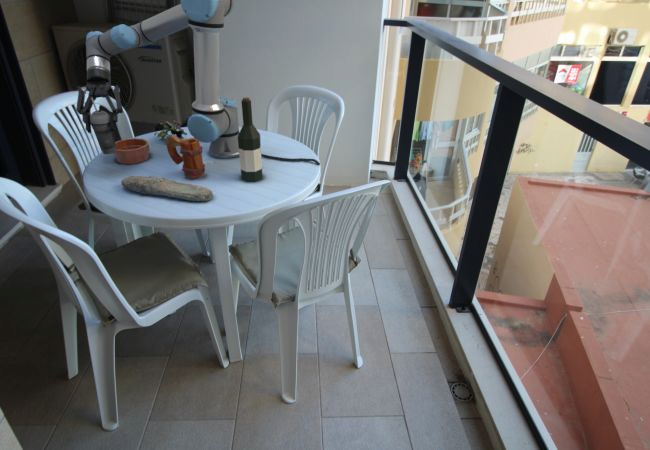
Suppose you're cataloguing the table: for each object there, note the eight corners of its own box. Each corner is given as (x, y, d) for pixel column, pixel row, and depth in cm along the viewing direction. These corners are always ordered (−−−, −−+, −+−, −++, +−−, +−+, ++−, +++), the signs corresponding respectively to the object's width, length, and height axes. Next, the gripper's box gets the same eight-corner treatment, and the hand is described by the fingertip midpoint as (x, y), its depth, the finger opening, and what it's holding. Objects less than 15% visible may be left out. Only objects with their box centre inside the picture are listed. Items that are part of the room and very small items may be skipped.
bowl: (158, 157, 165) (155, 143, 162) (126, 167, 155) (122, 153, 152) (139, 149, 172) (136, 136, 169) (108, 158, 162) (104, 144, 159)
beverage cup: (112, 156, 143) (96, 101, 133) (94, 154, 144) (77, 99, 134) (124, 149, 149) (110, 96, 139) (107, 147, 151) (92, 94, 140)
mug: (211, 173, 153) (206, 136, 145) (199, 182, 146) (193, 143, 138) (180, 167, 157) (173, 131, 148) (166, 175, 150) (158, 138, 142)
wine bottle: (245, 183, 146) (237, 102, 130) (238, 175, 152) (230, 96, 136) (266, 179, 149) (261, 100, 133) (258, 171, 156) (253, 94, 140)
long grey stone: (204, 210, 131) (219, 198, 140) (203, 196, 129) (218, 184, 137) (114, 190, 137) (133, 179, 146) (111, 176, 135) (131, 166, 143)
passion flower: (180, 149, 187) (192, 130, 182) (166, 153, 177) (178, 133, 172) (162, 133, 186) (173, 114, 181) (147, 137, 176) (159, 116, 171)
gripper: (131, 78, 149) (134, 134, 145) (72, 79, 145) (73, 136, 140) (125, 66, 142) (128, 124, 138) (63, 67, 138) (64, 127, 133)
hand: (100, 130), depth 139 cm, fingers closed on beverage cup, 7 cm apart
